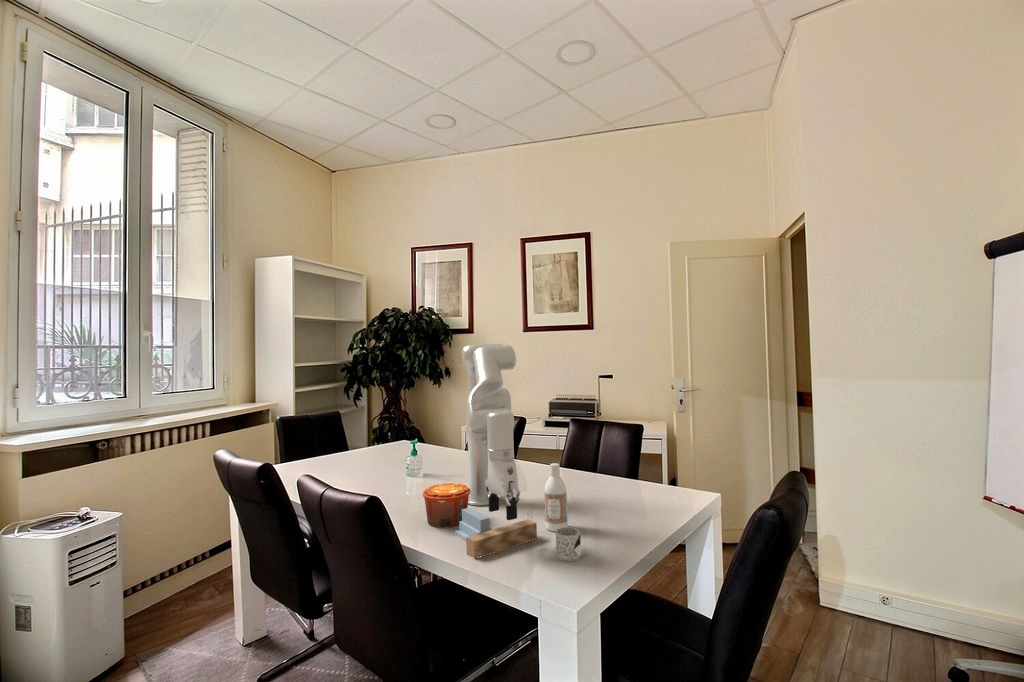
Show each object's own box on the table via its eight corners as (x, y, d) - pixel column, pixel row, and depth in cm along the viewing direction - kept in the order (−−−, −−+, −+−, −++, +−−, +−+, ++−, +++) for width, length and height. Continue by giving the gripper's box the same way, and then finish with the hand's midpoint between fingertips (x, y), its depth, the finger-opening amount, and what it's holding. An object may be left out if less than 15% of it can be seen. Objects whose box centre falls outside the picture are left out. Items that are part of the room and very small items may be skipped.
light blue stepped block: (477, 528, 151) (477, 506, 152) (497, 539, 141) (496, 516, 142) (455, 533, 147) (454, 511, 147) (473, 546, 137) (472, 521, 137)
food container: (469, 511, 168) (468, 481, 168) (473, 527, 152) (472, 493, 153) (423, 515, 165) (422, 484, 166) (422, 532, 150) (422, 497, 150)
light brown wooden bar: (528, 535, 145) (528, 519, 145) (536, 539, 142) (536, 522, 142) (466, 555, 132) (466, 537, 132) (474, 560, 128) (473, 541, 129)
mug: (580, 562, 125) (580, 536, 125) (555, 561, 126) (554, 535, 126) (581, 546, 135) (580, 523, 135) (558, 545, 136) (557, 522, 136)
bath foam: (543, 531, 147) (541, 466, 148) (548, 523, 154) (546, 461, 155) (565, 533, 145) (563, 467, 146) (569, 525, 152) (567, 462, 153)
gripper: (528, 457, 132) (530, 520, 131) (496, 449, 147) (498, 505, 146) (505, 460, 128) (507, 525, 127) (475, 452, 142) (476, 510, 142)
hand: (502, 514), depth 136 cm, fingers open, 9 cm apart
